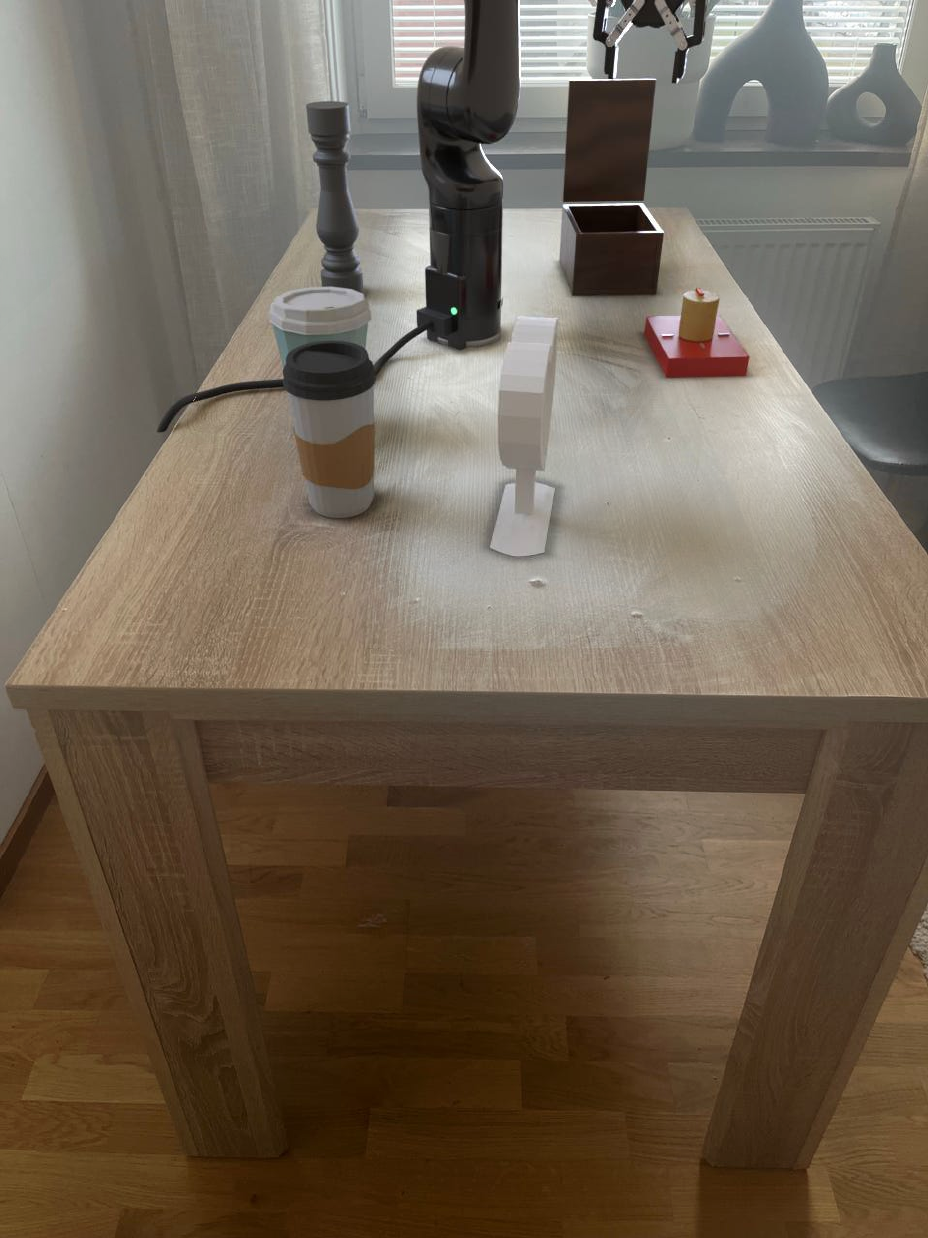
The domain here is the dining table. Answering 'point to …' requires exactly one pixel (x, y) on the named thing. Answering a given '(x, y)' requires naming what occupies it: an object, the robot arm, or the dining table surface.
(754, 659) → the dining table surface
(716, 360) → the panel
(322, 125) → the candle holder
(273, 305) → the disposable coffee cup
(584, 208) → the dark wooden box
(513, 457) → the heart sculpture
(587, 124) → the box lid
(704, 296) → the valve knob
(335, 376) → the coffee cup
